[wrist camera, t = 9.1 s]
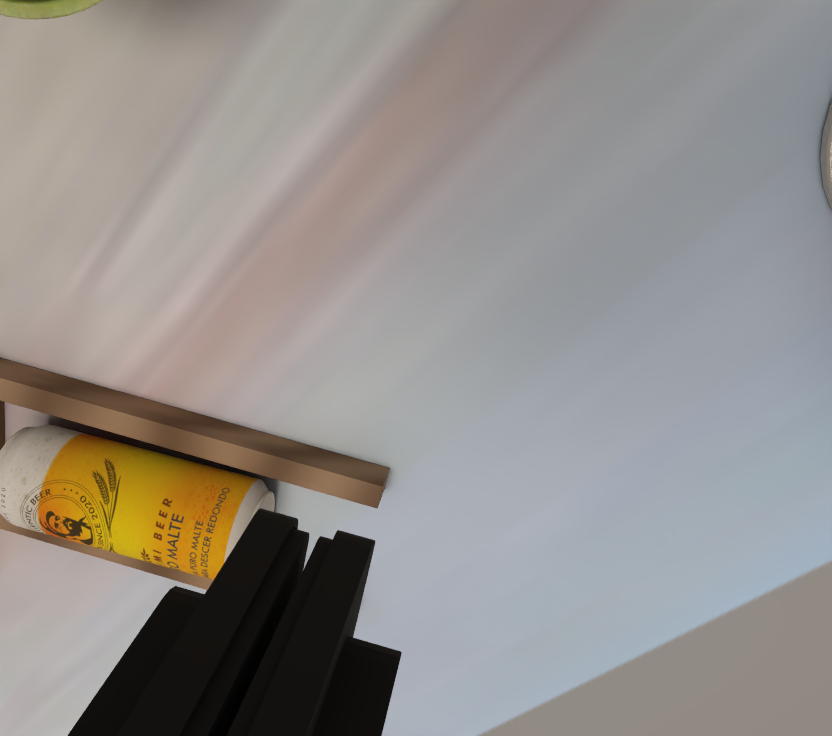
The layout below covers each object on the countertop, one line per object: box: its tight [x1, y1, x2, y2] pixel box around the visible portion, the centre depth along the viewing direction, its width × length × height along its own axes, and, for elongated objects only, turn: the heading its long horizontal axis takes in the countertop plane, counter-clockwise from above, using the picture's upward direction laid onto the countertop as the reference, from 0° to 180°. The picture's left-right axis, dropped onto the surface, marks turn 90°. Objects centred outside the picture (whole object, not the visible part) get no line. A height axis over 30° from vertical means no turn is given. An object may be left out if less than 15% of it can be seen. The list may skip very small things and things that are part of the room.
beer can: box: [0, 425, 275, 580], centre depth 44 cm, size 6×6×15 cm
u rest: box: [0, 358, 389, 590], centre depth 45 cm, size 26×11×4 cm, turn 77°
